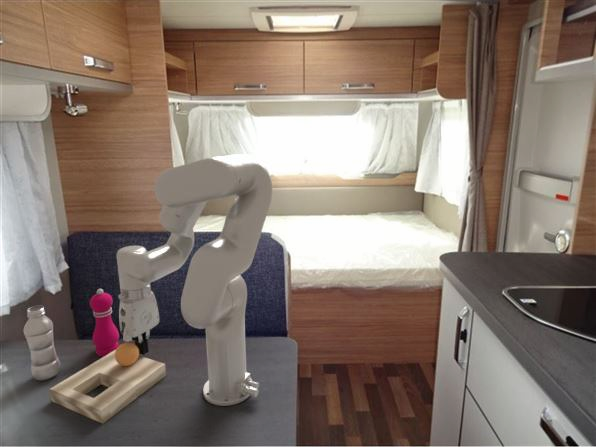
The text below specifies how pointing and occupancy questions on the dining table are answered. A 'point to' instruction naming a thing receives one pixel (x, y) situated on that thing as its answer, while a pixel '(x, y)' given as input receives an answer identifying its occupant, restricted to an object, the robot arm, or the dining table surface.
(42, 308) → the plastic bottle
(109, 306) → the pepper mill
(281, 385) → the dining table surface
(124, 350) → the ball
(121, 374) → the hole board
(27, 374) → the dining table surface
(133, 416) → the dining table surface
